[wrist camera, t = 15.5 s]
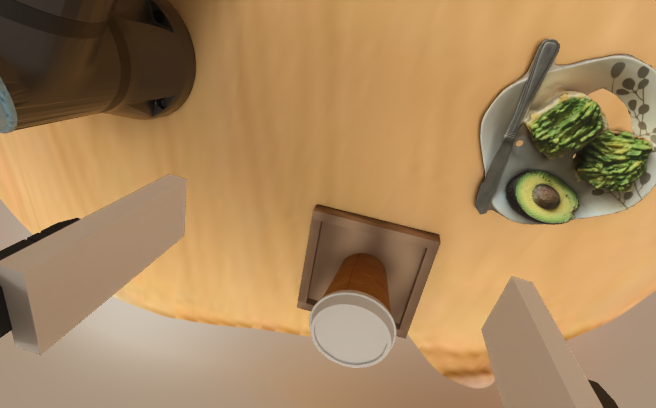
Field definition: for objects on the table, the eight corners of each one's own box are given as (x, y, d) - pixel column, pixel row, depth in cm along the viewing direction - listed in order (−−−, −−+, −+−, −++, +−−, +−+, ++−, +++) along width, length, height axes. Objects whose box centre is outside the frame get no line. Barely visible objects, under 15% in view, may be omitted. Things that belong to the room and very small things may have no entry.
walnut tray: (300, 298, 52) (296, 307, 50) (317, 204, 45) (313, 210, 43) (405, 328, 50) (405, 338, 48) (439, 234, 43) (440, 242, 41)
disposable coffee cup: (385, 310, 48) (378, 382, 38) (321, 287, 49) (297, 352, 38) (409, 256, 44) (409, 320, 34) (339, 232, 45) (318, 287, 34)
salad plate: (455, 62, 36) (461, 63, 32) (664, 7, 31) (704, -1, 27) (476, 226, 42) (483, 245, 38) (652, 203, 37) (683, 221, 33)
